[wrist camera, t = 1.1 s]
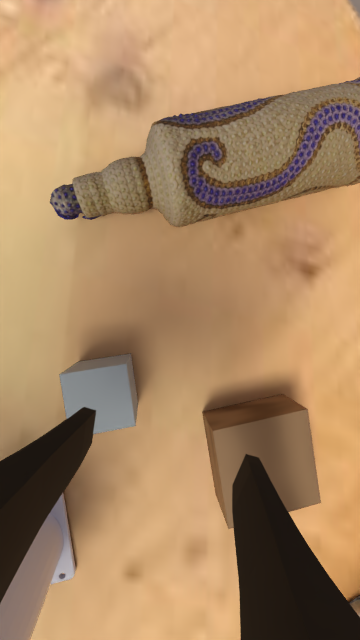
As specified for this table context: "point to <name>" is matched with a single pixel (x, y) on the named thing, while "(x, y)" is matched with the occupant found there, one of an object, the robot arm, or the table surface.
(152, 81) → the table surface
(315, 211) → the table surface
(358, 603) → the santa figurine
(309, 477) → the walnut block
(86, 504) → the table surface
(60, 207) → the decorative bottle
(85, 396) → the slate cube
